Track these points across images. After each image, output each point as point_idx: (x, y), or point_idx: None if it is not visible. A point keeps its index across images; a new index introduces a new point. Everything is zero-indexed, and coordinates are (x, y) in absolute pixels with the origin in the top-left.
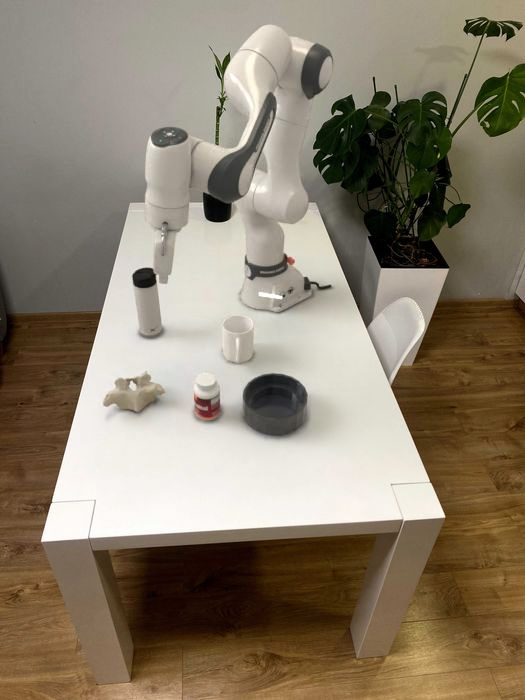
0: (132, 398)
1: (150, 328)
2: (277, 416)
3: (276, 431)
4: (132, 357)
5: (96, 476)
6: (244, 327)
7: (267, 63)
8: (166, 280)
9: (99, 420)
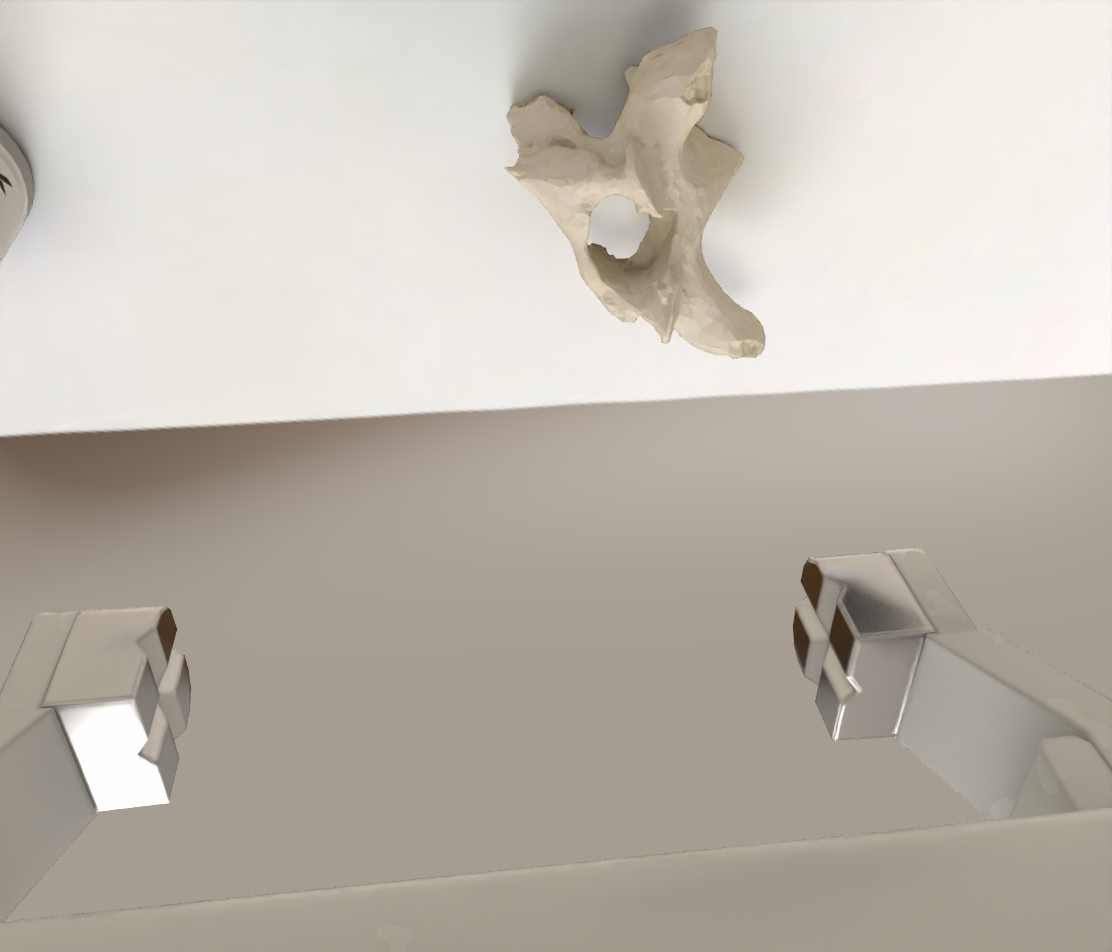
0: (711, 211)
1: (2, 197)
2: None
3: None
4: (252, 247)
5: (1071, 268)
6: None
7: None
8: (938, 592)
9: None
